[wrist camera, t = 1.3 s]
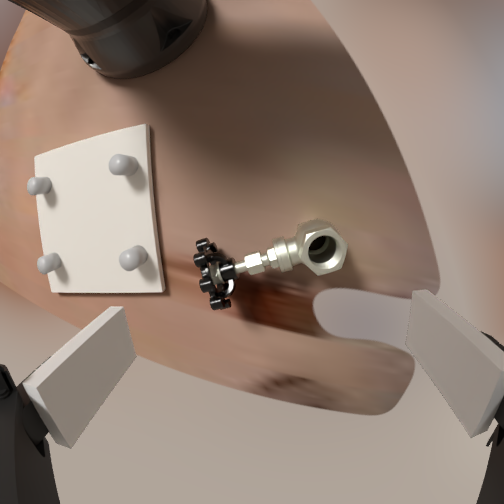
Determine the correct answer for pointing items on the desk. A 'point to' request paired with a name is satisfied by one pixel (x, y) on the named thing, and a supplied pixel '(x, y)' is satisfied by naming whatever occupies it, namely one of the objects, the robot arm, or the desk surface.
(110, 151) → the mounting plate
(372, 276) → the desk surface
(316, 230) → the valve
